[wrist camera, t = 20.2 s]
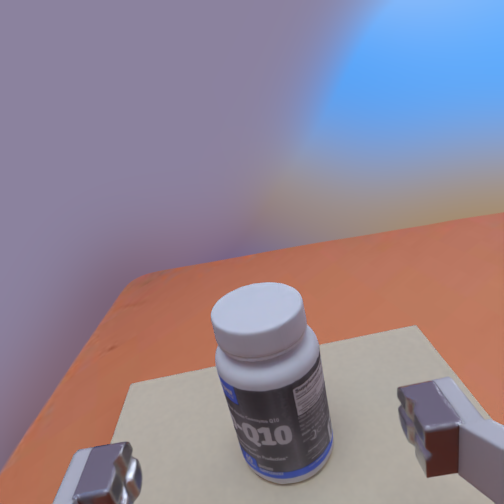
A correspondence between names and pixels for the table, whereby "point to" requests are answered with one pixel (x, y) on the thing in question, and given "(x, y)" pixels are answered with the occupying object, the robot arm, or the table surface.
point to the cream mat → (343, 426)
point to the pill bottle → (273, 381)
